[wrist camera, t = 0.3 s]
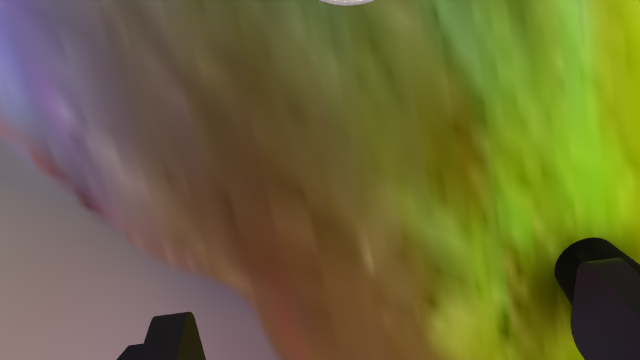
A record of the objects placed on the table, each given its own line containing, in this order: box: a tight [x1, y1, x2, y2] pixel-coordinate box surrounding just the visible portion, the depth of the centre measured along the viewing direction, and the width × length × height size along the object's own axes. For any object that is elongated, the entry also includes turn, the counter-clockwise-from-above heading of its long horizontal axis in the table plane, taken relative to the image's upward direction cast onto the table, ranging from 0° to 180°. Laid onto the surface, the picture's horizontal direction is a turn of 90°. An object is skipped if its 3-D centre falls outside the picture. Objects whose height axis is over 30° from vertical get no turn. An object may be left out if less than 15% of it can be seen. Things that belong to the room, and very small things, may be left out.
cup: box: [555, 238, 640, 306], centre depth 41 cm, size 8×8×12 cm
